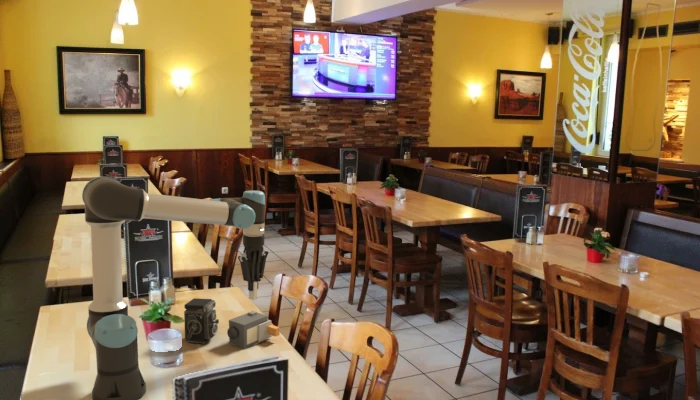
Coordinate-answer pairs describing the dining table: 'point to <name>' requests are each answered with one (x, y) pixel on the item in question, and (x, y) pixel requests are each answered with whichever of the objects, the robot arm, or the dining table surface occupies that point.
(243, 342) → the housing
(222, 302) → the dining table surface
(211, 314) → the camera
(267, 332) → the side door
